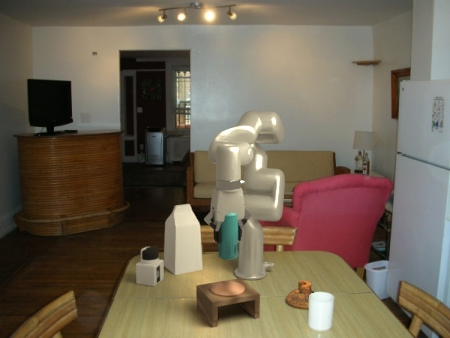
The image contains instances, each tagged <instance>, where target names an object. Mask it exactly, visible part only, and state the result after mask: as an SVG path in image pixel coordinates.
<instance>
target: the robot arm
mask: <svg viewBox="0 0 450 338" xmlns="http://www.w3.org/2000/svg"><path fill="white" fill-rule="evenodd" d="M284 139H285V126H284V124H283V122H282V119H281V116H280V115H279V114H278V113H277V112H275V111H272V110H248V111H245V112H243V113H242V115H241V117H240V118H239V120H238V122H237V123H236V125H235V126H233V127H230V128H228V129H225V130H222V131H220V132H218V133H217V134H216V135H215V136H214V137H213V139H212V140H211V142H210V145H209V146H208V151H207V157H208V160H209V161H210V162H211V163H212V164H213V165H215V168H216V169H215V170H216V171H215V173H216V174H215V178H216V179H215V188H213V189H212V195H211V201H210V212H208V214H207V215H206V216H205V217H204V219H203V220H204V222H206V224H208V225H209V227H210V228H211V229H213V240H214V241H215V242H216V243H217V245H218V244H219V243H221V231H219V228H220V226H221V223H222V222H224V219H225V215H226V214H228V213H232V212H233V213H236V214H238V216H237V218H238V229H239V230H238V235H239V237H238V239H239V240H238V242H239V243H238V248H239V252H238V264H237V265H238V266H237V268H235V269H234V276H235V277H237V278H241V279H242V280H246V281H247V280H248V281H255V280H256V281H257V280H261V279H264V278H265V277H266V276H268V275H267V273H268V272H267V269H269V268H270V269H271V268H275V263H274V262H268V261H264V233H265V232H264V228H263V227H262V224H261V222H262V221H263V222H278V221H280V220H281V218H282V217H283V211H284V200H285V199H284V198H285V187H286V179H285V178H286V177H285V173H284V171H282V170H281V169H279V168H270V167H269V168H268V157H269V156H268V154H267V152H266V151H265V149H263V147H262V146H261V144H262V145H279V144H281V143H282V142H283V140H284ZM242 166H244V174H243V179H242V178H241V177H242V176H241V174H242V171H241V169H242ZM242 185H243V188H244V190H246V191H249V192H252V193H265V194H266V193H267V194H271V195H263V194H262V195H261V194H244V190H243V188H242ZM211 219H212V220H213V221H212V220H211ZM259 221H261V222H259Z"/></svg>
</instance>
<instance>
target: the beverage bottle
mask: <svg viewBox="0 0 450 338" xmlns="http://www.w3.org/2000/svg"><path fill="white" fill-rule="evenodd" d="M237 216H238V214H236V213H233V212H232V213H228V214H226V215H225V219H224V222H222V223H221V226H220V228H219V231H221V243H219V244H218V243H217V246H218V247H217V252H218V253H217V255H218V258H219V259H221V260H226V261H230V260H235V259H237V258H239V241H238V240H239V239H238V237H239V235H238V230H239V229H238V218H237Z"/></svg>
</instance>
